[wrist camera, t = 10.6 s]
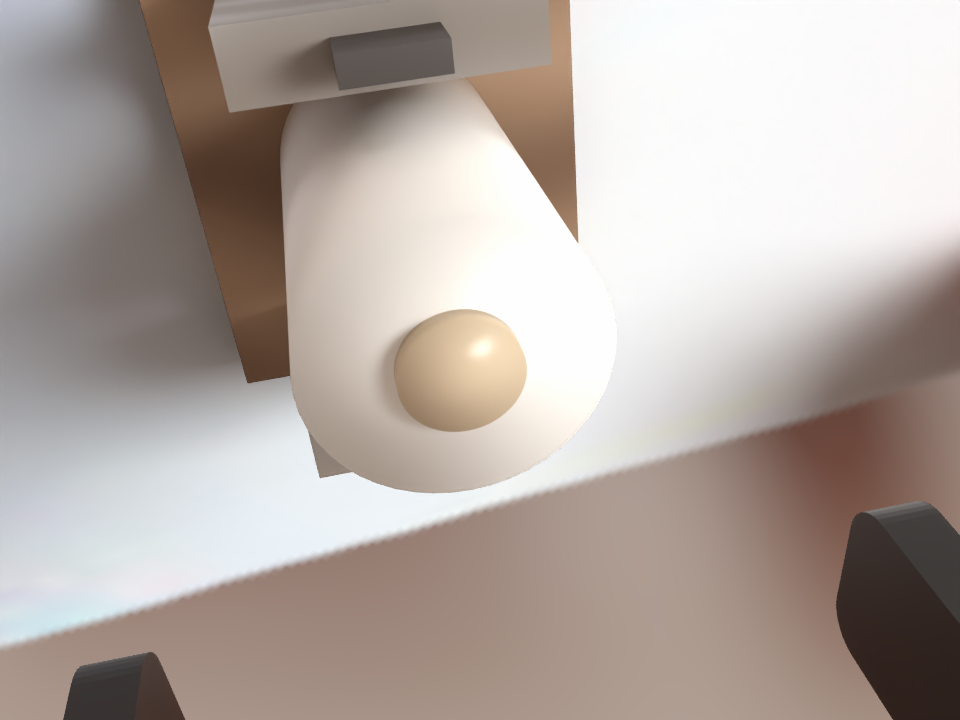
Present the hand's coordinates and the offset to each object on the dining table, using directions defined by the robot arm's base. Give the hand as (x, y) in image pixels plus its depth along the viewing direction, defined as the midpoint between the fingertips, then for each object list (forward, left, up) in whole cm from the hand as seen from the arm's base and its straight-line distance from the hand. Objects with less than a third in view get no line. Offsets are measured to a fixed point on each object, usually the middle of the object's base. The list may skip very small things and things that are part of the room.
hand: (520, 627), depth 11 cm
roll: (0, 0, -16) cm, 16 cm away
